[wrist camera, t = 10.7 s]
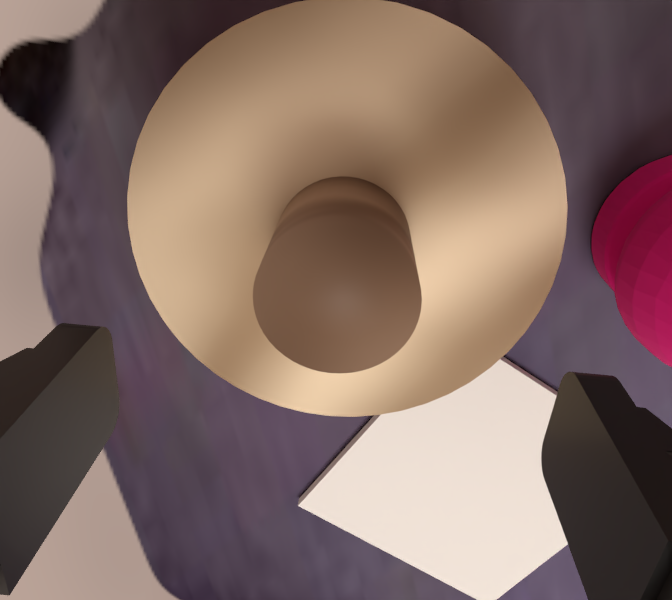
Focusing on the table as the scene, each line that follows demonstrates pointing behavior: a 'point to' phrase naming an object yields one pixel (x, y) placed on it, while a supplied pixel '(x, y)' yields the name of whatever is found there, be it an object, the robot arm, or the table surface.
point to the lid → (347, 206)
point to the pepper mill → (640, 253)
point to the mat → (452, 484)
